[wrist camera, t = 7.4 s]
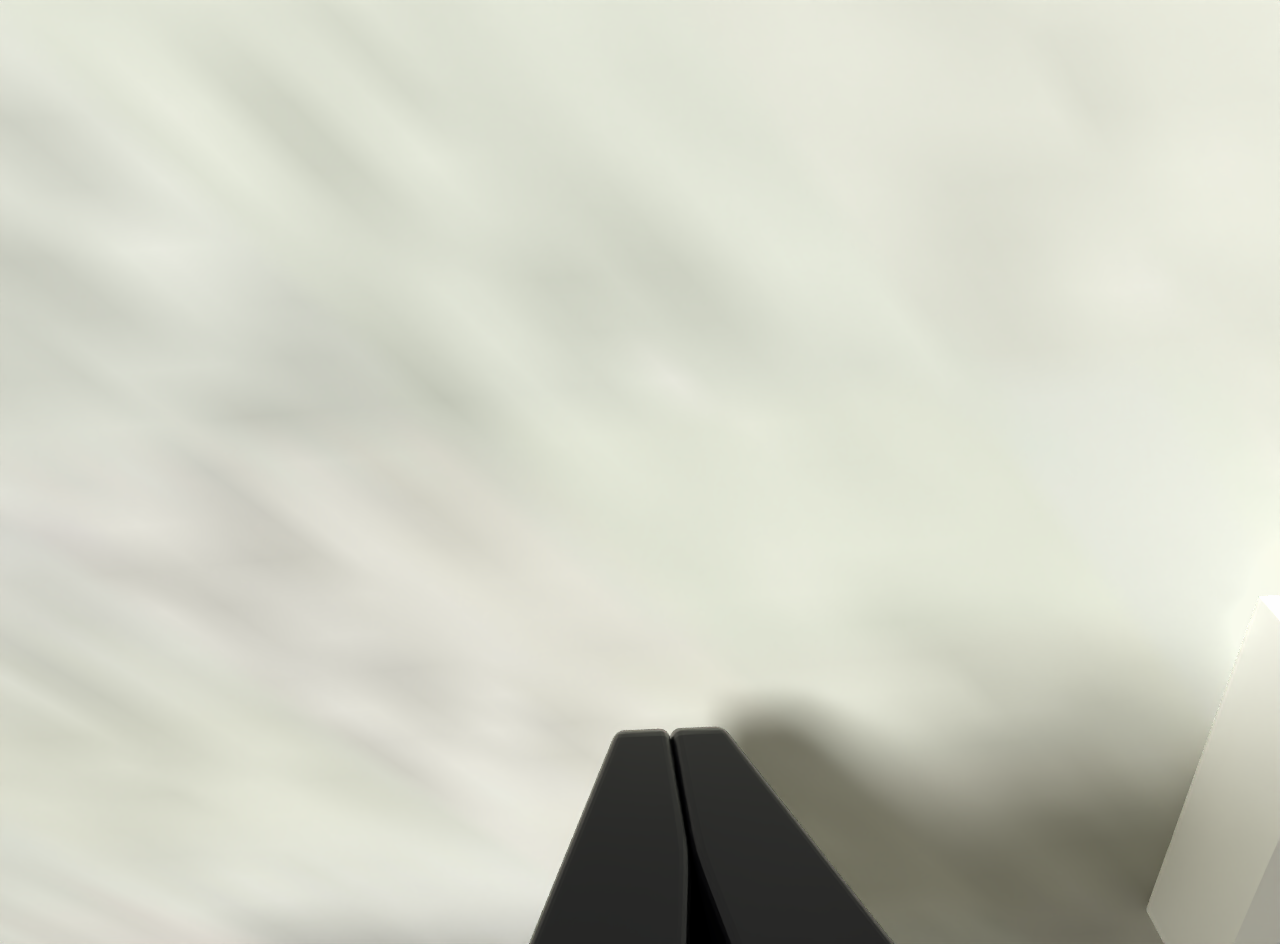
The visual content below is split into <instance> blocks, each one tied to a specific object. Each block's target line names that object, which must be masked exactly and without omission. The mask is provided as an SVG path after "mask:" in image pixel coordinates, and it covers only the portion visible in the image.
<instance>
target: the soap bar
mask: <svg viewBox="0 0 1280 944" xmlns="http://www.w3.org/2000/svg"><path fill="white" fill-rule="evenodd" d="M1146 911H1147V913H1148V915H1149V917H1150V919H1151V921H1152V922H1153V924H1154V926H1155V928H1156V930H1157V932H1158V934H1159V935H1160V937H1161V939H1162V941H1163V943H1164V944H1280V595H1277V596H1258V599H1257V602H1256V604H1255V607H1254V610H1253V613H1252V616H1251V618H1250V621H1249V624H1248V627H1247V630H1246V632H1245V635H1244V638H1243V641H1242V643H1241V646H1240V649H1239V652H1238V655H1237V657H1236V660H1235V663H1234V666H1233V669H1232V671H1231V674H1230V677H1229V680H1228V682H1227V685H1226V688H1225V691H1224V694H1223V696H1222V699H1221V702H1220V705H1219V708H1218V710H1217V713H1216V716H1215V719H1214V722H1213V724H1212V727H1211V730H1210V733H1209V735H1208V738H1207V741H1206V744H1205V747H1204V749H1203V752H1202V755H1201V758H1200V761H1199V763H1198V766H1197V769H1196V772H1195V775H1194V777H1193V780H1192V783H1191V786H1190V788H1189V791H1188V794H1187V797H1186V800H1185V802H1184V805H1183V808H1182V811H1181V814H1180V816H1179V819H1178V822H1177V825H1176V827H1175V830H1174V833H1173V836H1172V839H1171V841H1170V844H1169V847H1168V850H1167V853H1166V855H1165V858H1164V861H1163V864H1162V867H1161V869H1160V872H1159V875H1158V878H1157V880H1156V883H1155V886H1154V889H1153V892H1152V894H1151V897H1150V900H1149V903H1148V906H1147V908H1146Z"/></svg>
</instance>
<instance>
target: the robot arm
mask: <svg viewBox="0 0 1280 944" xmlns="http://www.w3.org/2000/svg"><path fill="white" fill-rule="evenodd" d="M529 944H894V943H893V941H892V940H891V939H890V938H889V936H888V935H887V934H886V932H885V931H884V930H883V929H882V927H881V926H880V925H879V924H878V922H877V921H876V920H875V919H874V917H873V916H872V915H871V913H870V912H869V911H868V910H867V908H866V907H865V906H864V905H863V903H862V902H861V901H860V900H859V898H858V897H857V896H856V894H855V893H854V892H853V891H852V889H851V888H850V887H849V886H848V884H847V883H846V882H845V881H844V879H843V878H842V877H841V875H840V874H839V873H838V872H837V870H836V869H835V868H834V867H833V865H832V864H831V863H830V861H829V860H828V859H827V858H826V856H825V855H824V854H823V853H822V851H821V850H820V849H819V848H818V846H817V845H816V844H815V842H814V841H813V840H812V839H811V837H810V836H809V835H808V834H807V832H806V831H805V830H804V829H803V827H802V826H801V825H800V823H799V822H798V821H797V820H796V818H795V817H794V816H793V815H792V813H791V812H790V811H789V809H788V808H787V807H786V806H785V804H784V803H783V802H782V801H781V799H780V798H779V797H778V796H777V794H776V793H775V792H774V790H773V789H772V788H771V787H770V785H769V784H768V783H767V782H766V780H765V779H764V778H763V777H762V775H761V774H760V773H759V771H758V770H757V769H756V768H755V766H754V765H753V764H752V763H751V761H750V760H749V759H748V757H747V756H746V755H745V754H744V752H743V751H742V750H741V749H740V747H739V746H738V745H737V744H736V742H735V741H734V740H733V738H732V737H731V736H730V735H729V734H728V732H727V731H725V730H724V729H722V728H720V727H696V728H678V729H676V730H674V731H673V732H672V734H671V736H669V734H668V733H667V732H666V731H665V730H663V729H646V730H623V731H620V732H618V733H617V734H616V735H615V736H614V738H613V740H612V742H611V744H610V747H609V749H608V752H607V754H606V757H605V759H604V762H603V764H602V766H601V769H600V771H599V774H598V776H597V779H596V781H595V784H594V786H593V789H592V791H591V793H590V796H589V798H588V801H587V803H586V806H585V808H584V811H583V813H582V815H581V818H580V820H579V823H578V825H577V828H576V830H575V833H574V835H573V838H572V840H571V842H570V845H569V847H568V850H567V852H566V855H565V857H564V860H563V862H562V864H561V867H560V869H559V872H558V874H557V877H556V879H555V882H554V884H553V887H552V889H551V891H550V894H549V896H548V899H547V901H546V904H545V906H544V909H543V911H542V913H541V916H540V918H539V921H538V923H537V926H536V928H535V931H534V933H533V936H532V938H531V940H530V943H529Z"/></svg>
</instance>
